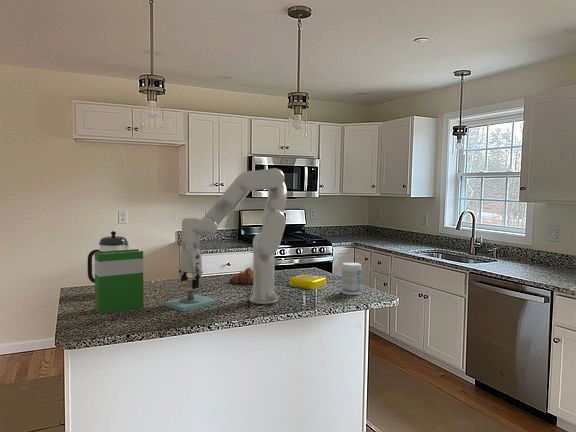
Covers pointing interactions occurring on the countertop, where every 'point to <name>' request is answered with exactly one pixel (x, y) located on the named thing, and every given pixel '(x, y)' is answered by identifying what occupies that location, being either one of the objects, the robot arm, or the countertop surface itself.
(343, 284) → the supplement tub
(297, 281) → the element tile
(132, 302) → the hardback book
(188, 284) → the ring
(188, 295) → the teal plate with knob
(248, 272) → the pastry
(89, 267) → the coffee press
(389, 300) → the countertop surface
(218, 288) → the countertop surface
